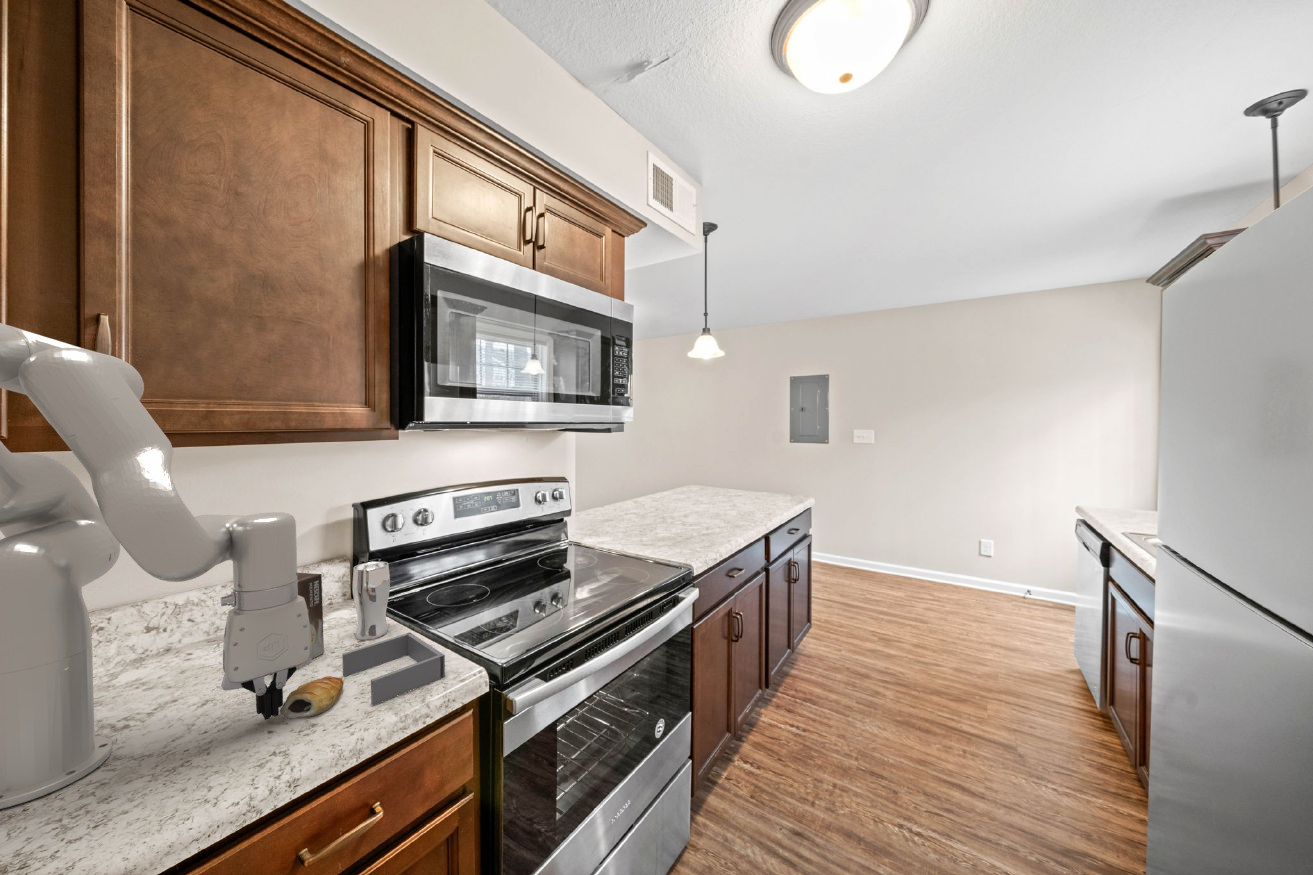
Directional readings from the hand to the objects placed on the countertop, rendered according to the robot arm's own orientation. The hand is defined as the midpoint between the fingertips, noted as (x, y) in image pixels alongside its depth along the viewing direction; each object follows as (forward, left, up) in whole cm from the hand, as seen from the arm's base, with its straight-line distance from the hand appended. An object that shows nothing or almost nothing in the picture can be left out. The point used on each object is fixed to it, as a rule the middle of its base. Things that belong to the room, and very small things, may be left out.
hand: (269, 714), depth 74 cm
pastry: (+6, 0, -2) cm, 6 cm away
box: (+17, 0, -1) cm, 17 cm away
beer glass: (+22, +22, -1) cm, 31 cm away
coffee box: (+7, +20, -2) cm, 22 cm away
